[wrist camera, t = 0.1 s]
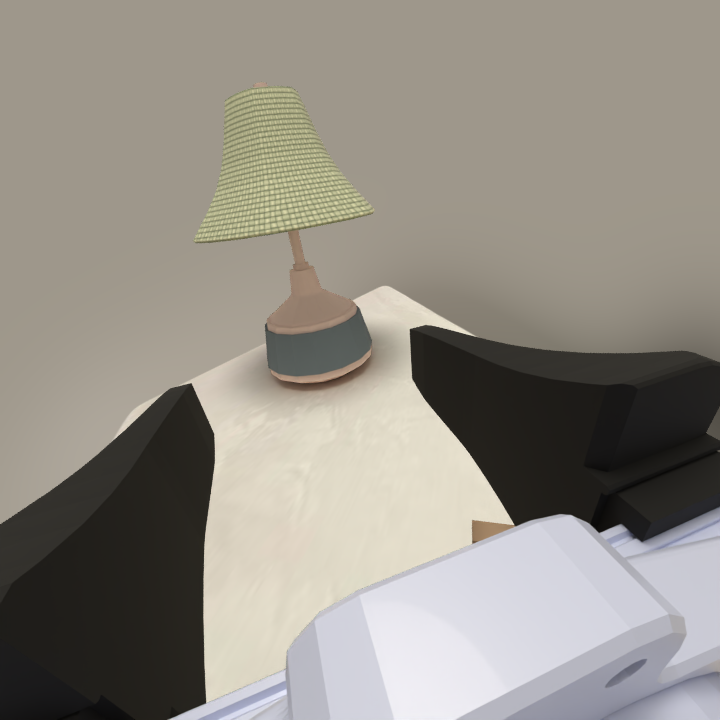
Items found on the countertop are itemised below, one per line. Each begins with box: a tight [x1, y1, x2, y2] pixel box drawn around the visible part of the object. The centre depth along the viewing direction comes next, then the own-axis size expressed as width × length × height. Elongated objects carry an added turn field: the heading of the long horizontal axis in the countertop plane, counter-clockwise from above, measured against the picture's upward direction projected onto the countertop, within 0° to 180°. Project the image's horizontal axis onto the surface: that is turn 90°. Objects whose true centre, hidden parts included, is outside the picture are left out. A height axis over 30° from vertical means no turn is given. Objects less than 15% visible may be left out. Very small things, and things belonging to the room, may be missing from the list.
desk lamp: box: [194, 82, 375, 383], centre depth 53 cm, size 26×28×42 cm
